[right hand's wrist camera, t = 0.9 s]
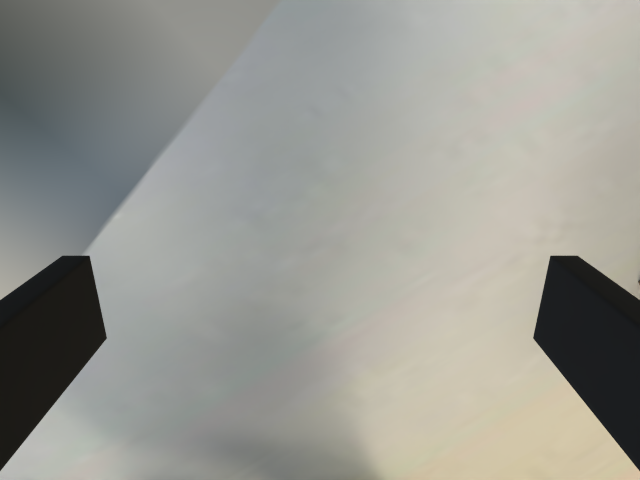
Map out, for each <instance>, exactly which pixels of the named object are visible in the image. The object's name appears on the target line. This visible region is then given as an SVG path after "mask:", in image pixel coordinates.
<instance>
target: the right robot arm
mask: <svg viewBox="0 0 640 480" xmlns="http://www.w3.org/2000/svg"><path fill="white" fill-rule="evenodd" d="M106 338H107V337H106V332H105V327H104V323H103V318H102V313H101V308H100V304H99V299H98V294H97V289H96V285H95V280H94V275H93V270H92V265H91V261H90V256H62V257H60V258H59V259H57V260H56V261H55V262H53V263H52V264H50V265H49V266H48V267H46V268H45V269H43V270H42V271H41V272H39V273H38V274H36V275H35V276H34V277H32V278H31V279H29V280H28V281H27V282H25V283H24V284H22V285H21V286H20V287H18V288H17V289H15V290H14V291H13V292H11V293H10V294H8V295H7V296H6V297H4V298H3V299H1V300H0V471H1V469H2V468H3V467H4V466H5V464H6V463H7V462H8V461H9V459H10V458H11V457H12V456H13V454H14V453H15V452H16V451H17V449H18V448H19V447H20V446H21V444H22V443H23V442H24V441H25V439H26V438H27V437H28V436H29V434H30V433H31V432H32V431H33V429H34V428H35V427H36V426H37V424H38V423H39V422H40V421H41V420H42V418H43V417H44V416H45V415H46V413H47V412H48V411H49V410H50V408H51V407H52V406H53V405H54V403H55V402H56V401H57V400H58V398H59V397H60V396H61V395H62V393H63V392H64V391H65V390H66V388H67V387H68V386H69V385H70V383H71V382H72V381H73V380H74V378H75V377H76V376H77V375H78V373H79V372H80V371H81V370H82V368H83V367H84V366H85V365H86V363H87V362H88V361H89V360H90V358H91V357H92V356H93V355H94V353H95V352H96V351H97V350H98V348H99V347H100V346H101V345H102V343H103V342H104V341H105V340H106ZM533 338H534V340H535V341H536V342H537V343H538V345H539V346H540V347H541V348H542V350H543V351H544V352H545V353H546V355H547V356H548V357H549V358H550V360H551V361H552V362H553V363H554V365H555V366H556V367H557V368H558V370H559V371H560V372H561V373H562V375H563V376H564V377H565V378H566V380H567V381H568V382H569V383H570V385H571V386H572V387H573V388H574V390H575V391H576V392H577V393H578V395H579V396H580V397H581V398H582V400H583V401H584V402H585V403H586V405H587V406H588V407H589V408H590V410H591V411H592V412H593V413H594V415H595V416H596V417H597V418H598V420H599V421H600V422H601V423H602V425H603V426H604V427H605V428H606V429H607V431H608V432H609V433H610V434H611V436H612V437H613V438H614V439H615V441H616V442H617V443H618V444H619V446H620V447H621V448H622V449H623V451H624V452H625V453H626V454H627V456H628V457H629V458H630V459H631V461H632V462H633V463H634V464H635V466H636V467H637V468H638V469H639V471H640V300H639V299H637V298H636V297H635V296H633V295H632V294H630V293H629V292H627V291H626V290H625V289H623V288H622V287H620V286H619V285H618V284H616V283H615V282H613V281H612V280H611V279H609V278H608V277H606V276H605V275H604V274H602V273H601V272H599V271H598V270H597V269H595V268H594V267H592V266H591V265H590V264H588V263H587V262H585V261H584V260H583V259H581V258H580V257H578V256H550V261H549V265H548V270H547V275H546V280H545V285H544V289H543V294H542V299H541V304H540V308H539V313H538V318H537V323H536V327H535V332H534V337H533Z"/></svg>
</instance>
